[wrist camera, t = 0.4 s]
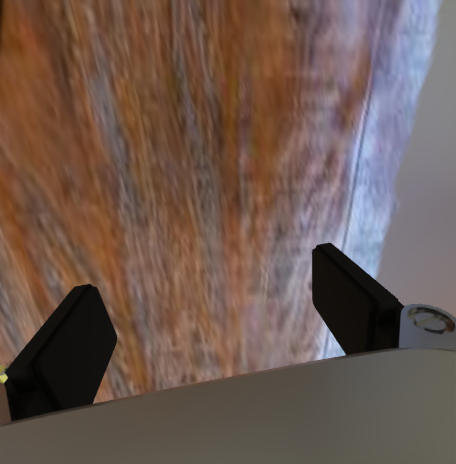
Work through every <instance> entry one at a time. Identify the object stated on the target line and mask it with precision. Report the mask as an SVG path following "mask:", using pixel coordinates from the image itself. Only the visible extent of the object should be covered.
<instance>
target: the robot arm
mask: <svg viewBox="0 0 456 464" xmlns="http://www.w3.org/2000/svg"><path fill="white" fill-rule="evenodd" d="M312 300H313V304H314V306H315V308H316V310H317V311H318V313H319V314H320V316H321V317H322V319H323V320H324V322H325V323H326V325H327V326H328V328H329V329H330V331H331V333H332V334H333V336H334V337H335V339H336V340H337V342H338V343H339V345H340V346H341V348H342V349H343V351H344V352H345V354H346V355H345V356H339V357H334V358H328V359H322V360H317V361H311V362H306V363H301V364H295V365H290V366H285V367H279V368H274V369H269V370H263V371H258V372H253V373H247V374H242V375H237V376H232V377H227V378H221V379H216V380H211V381H206V382H201V383H196V384H190V385H185V386H180V387H175V388H170V389H165V390H160V391H155V392H150V393H145V394H140V395H135V396H130V397H125V398H120V399H115V400H110V401H105V402H100V403H95V404H93V401H94V399H95V396H96V394H97V391H98V389H99V386H100V383H101V381H102V378H103V376H104V373H105V371H106V368H107V366H108V363H109V361H110V358H111V356H112V353H113V351H114V348H115V346H116V343H117V335H116V332H115V330H114V327H113V325H112V322H111V320H110V317H109V315H108V313H107V310H106V308H105V305H104V303H103V300H102V298H101V296H100V293H99V291H98V289H97V287H93V286H92V285H91V284H87V285H81V286H76V287H74V288H73V289H72V290H71V291H70V293H69V294H68V295H67V296H66V298H65V299H64V300H63V301H62V302H61V304H60V305H59V306H58V307H57V309H56V310H55V311H54V312H53V313H52V315H51V316H50V317H49V318H48V320H47V321H46V322H45V323H44V324H43V326H42V327H41V328H40V329H39V331H38V332H37V333H36V334H35V335H34V337H33V338H32V339H31V340H30V342H29V343H28V344H27V345H26V346H25V348H24V349H23V350H22V351H21V353H20V354H19V355H18V356H17V357H16V359H15V360H14V361H13V362H12V364H11V365H10V366H9V367H8V368H7V370H6V371H5V372H4V373H5V374H6V376H7V377H8V378H7V380H6V381H5V382H4V384H3V383H1V382H0V464H456V318H455V317H454V316H452V315H451V314H450V313H448V312H446V311H444V310H442V309H440V308H437V307H434V306H431V305H425V304H411V305H407V306H403V305H402V304H401V303H400V302H399V301H398V299H397V298H396V297H395V296H394V295H392V294H391V293H390V292H389V291H388V290H387V289H385V288H384V287H383V286H382V285H381V284H379V283H378V282H377V281H376V280H375V279H373V278H372V277H371V276H370V275H369V274H367V273H366V272H365V271H364V270H363V269H362V268H360V267H359V266H358V265H357V264H356V263H354V262H353V261H352V260H351V259H350V258H348V257H347V256H346V255H345V254H344V253H342V252H341V251H340V250H339V249H338V248H336V247H335V246H334V245H333V244H332V243H325V244H320V245H317V246H316V249H313V250H312Z"/></svg>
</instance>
